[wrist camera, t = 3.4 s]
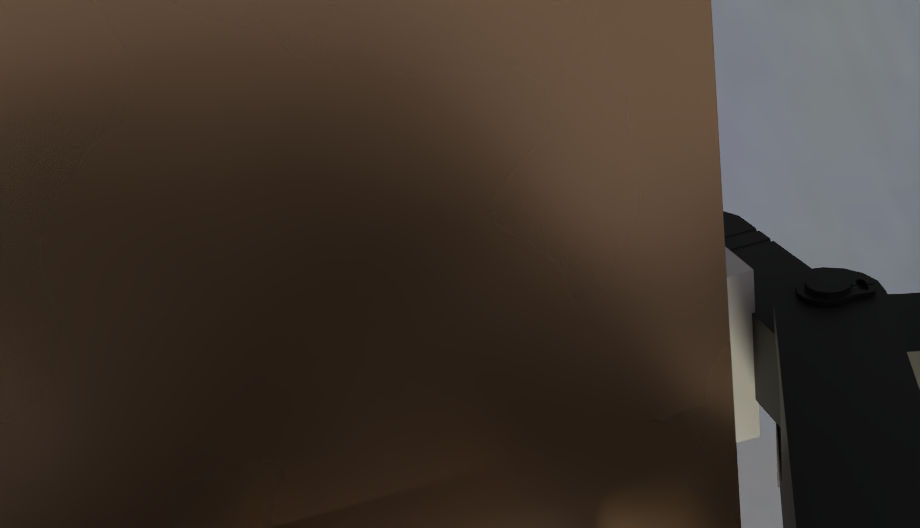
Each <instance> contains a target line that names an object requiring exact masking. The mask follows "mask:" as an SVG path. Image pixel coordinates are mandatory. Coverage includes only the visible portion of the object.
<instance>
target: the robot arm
mask: <svg viewBox="0 0 920 528" xmlns="http://www.w3.org/2000/svg"><path fill="white" fill-rule="evenodd" d="M723 220H724V237H725V255H726V273H727V290H728V308H729V325H730V343H731V360H732V378H733V395H734V413H735V430H736V443H739V442H742V441H746V440H749V439H753V438H756V437H760V427H759V404H760V405H761V406H762V407H763V409H764V410H765V411H766V412H767V413H768V414H769V415H770V416H771V418H772V419H773V420H774V421H775V422H776V441H777V481H778V487H780V493H781V505H782V517H783V528H920V293H908V294H887V293H886V290H885V289H884V288H883V287H882V285H881V284H880V283H879V282H878V281H877V280H875V279H873V278H871V277H869V276H867V275H866V274H864V273H860V272H856V271H852V270H848V269H843V268H824V267H822V268H814V269H811V268H810V267H809V266H807V265H806V264H805V263H803V262H802V261H800V260H799V259H798V258H796V257H795V256H793V255H792V254H791V253H789V252H788V251H787V250H785V249H784V248H782V247H781V246H780V245H778V244H777V243H776V242H774V241H772V242H771V241H770V238H769V237H767V236H766V235H764V234H763V233H762V232H760V231H756V228H755V227H753V226H752V225H751V224H749V223H748V222H747V221H745V220H744V219H742V218H741V217H740V216H737V215H734V214H731V213H727V212H724V211H723Z"/></svg>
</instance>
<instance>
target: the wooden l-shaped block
mask: <svg viewBox="0 0 920 528" xmlns="http://www.w3.org/2000/svg"><path fill="white" fill-rule="evenodd" d="M0 528H741V518H740V500H739V483H738V465H737V448H736V430H735V413H734V395H733V378H732V360H731V343H730V325H729V308H728V290H727V273H726V255H725V237H724V220H723V202H722V185H721V167H720V150H719V132H718V115H717V97H716V80H715V62H714V45H713V27H712V10H711V0H0Z"/></svg>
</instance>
